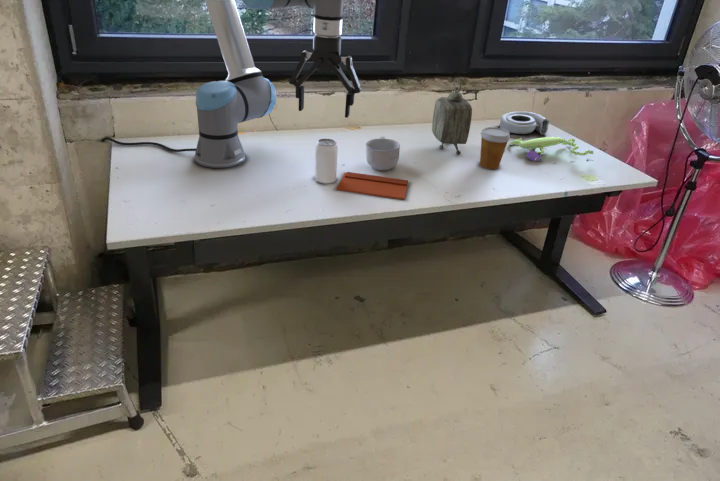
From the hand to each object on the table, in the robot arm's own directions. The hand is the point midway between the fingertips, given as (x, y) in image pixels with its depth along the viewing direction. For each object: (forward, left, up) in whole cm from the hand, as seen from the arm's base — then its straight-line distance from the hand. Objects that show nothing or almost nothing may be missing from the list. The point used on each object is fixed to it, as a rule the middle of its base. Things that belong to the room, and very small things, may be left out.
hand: (323, 112), depth 154 cm
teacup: (+16, +15, -20) cm, 30 cm away
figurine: (+73, +46, -20) cm, 89 cm away
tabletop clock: (+36, +37, -20) cm, 56 cm away
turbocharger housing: (+64, +70, -20) cm, 97 cm away
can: (+2, -2, -20) cm, 20 cm away
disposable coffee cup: (+51, +27, -20) cm, 61 cm away
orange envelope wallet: (+16, -2, -20) cm, 26 cm away
